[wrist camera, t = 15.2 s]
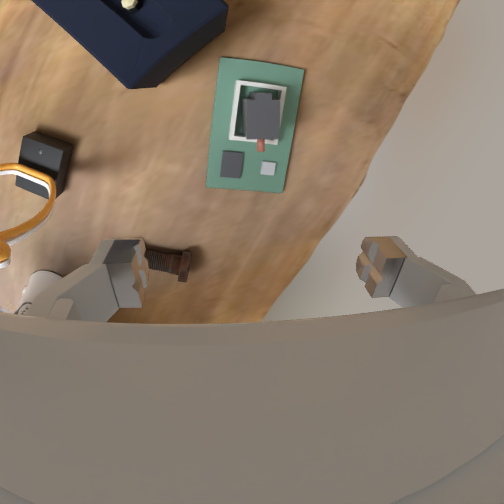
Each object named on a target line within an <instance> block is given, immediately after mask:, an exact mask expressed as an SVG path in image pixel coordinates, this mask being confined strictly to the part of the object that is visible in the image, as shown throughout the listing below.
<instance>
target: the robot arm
mask: <svg viewBox="0 0 504 504" xmlns="http://www.w3.org/2000/svg"><path fill="white" fill-rule="evenodd" d="M361 248H362V250H363V252H362V253H361V254H360V255H359V256H358V259H357V262H356V271H357V274H358V276H359V278H360V279H361V280H362V281H364V282H365V283H366V284H365V288H366V289H367V291H368V292H369V294H370V296H371V297H372V298H376V297H390V298H391V299H392V300H393V301H395V302H396V303H397V304H398V305H400V306H401V307H402V308H399V309H392V310H384V311H377V312H369V313H361V314H353V315H343V316H333V317H324V318H312V319H299V320H286V321H270V322H249V323H220V324H141V323H113V322H107V321H108V320H109V319H110V318H111V317H112V316H113V315H114V314H115V313H116V312H117V310H118V309H119V308H142V305H143V301H144V297H145V292H144V288H145V287H146V286H147V285H148V280H149V266H148V260H147V259H146V258H145V257H144V253H145V250H146V248H145V243H144V240H143V239H116V238H114V239H103V240H102V241H101V243H100V244H99V246H98V248H97V249H96V251H95V253H94V255H93V256H92V258H91V260H90V262H89V264H84V265H82V266H81V267H79V268H78V269H76V270H74V271H73V272H71V273H70V274H68V275H67V276H65V277H63V278H62V277H61V276H59V275H57V274H55V273H52V272H49V271H37V272H35V273H33V274H32V275H31V277H30V279H29V282H28V285H27V286H26V287H25V288H24V290H23V292H22V293H23V296H22V298H21V301H20V303H19V305H18V307H17V310H16V312H15V313H14V314H10V313H3V312H0V504H504V289H500V290H496V291H492V292H487V293H483V294H478V295H477V294H476V293H475V292H474V291H473V290H472V289H471V288H470V286H469V285H468V284H467V283H466V282H465V281H464V280H462V279H461V278H459V277H457V276H455V275H453V274H451V273H449V272H448V271H446V270H444V269H442V268H440V267H438V266H436V265H435V264H433V263H431V262H429V261H427V260H425V259H423V258H421V257H417V256H416V255H415V254H414V252H413V251H412V250H411V249H410V248H408V246H407V245H406V244H405V243H404V242H403V241H402V240H401V239H400V238H399V237H397V236H392V237H391V236H389V237H365V238H364V240H363V241H362V245H361Z"/></svg>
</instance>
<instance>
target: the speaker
mask: <svg viewBox="0 0 504 504" xmlns="http://www.w3.org/2000/svg"><path fill="white" fill-rule="evenodd" d="M32 1H33V2H34V3H35V4H36V5H37V6H38V7H40V8H41V9H42V10H43V11H44V12H45V13H46V14H48V15H49V16H50V17H51V18H52V19H53V20H54V21H55V22H57V23H58V24H59V25H60V26H61V27H62V28H63V29H64V30H65V31H67V32H68V33H69V34H70V35H71V36H72V37H73V38H74V39H75V40H76V41H78V42H79V43H80V44H81V45H82V46H83V47H84V48H85V49H86V50H87V51H88V52H89V53H91V54H92V55H93V56H94V57H95V58H96V59H97V60H98V61H99V62H100V63H101V64H102V65H103V66H104V67H105V68H106V69H108V70H109V71H110V72H111V73H112V74H113V75H114V76H115V77H116V78H117V79H118V80H119V81H120V82H121V83H122V84H123V85H124V86H125V87H126V88H127V89H138V88H153V87H157V86H158V85H159V84H160V83H161V82H162V81H164V80H165V79H166V78H167V77H168V76H169V75H170V74H171V73H172V72H174V71H175V70H176V69H177V68H178V67H179V66H180V65H182V64H183V63H184V62H185V61H186V60H188V59H189V58H190V57H191V56H192V55H194V54H195V53H196V52H197V51H199V50H200V49H201V48H203V47H204V46H205V45H206V44H208V43H209V42H210V41H212V40H213V39H214V38H216V37H217V36H219V35H220V34H221V33H223V32H224V30H225V25H226V19H227V13H228V4H226V3H225V2H224V1H223V0H32Z"/></svg>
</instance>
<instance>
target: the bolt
mask: <svg viewBox="0 0 504 504" xmlns="http://www.w3.org/2000/svg"><path fill="white" fill-rule="evenodd" d="M191 254H192V253H191V252H187V251H183V254H182V256H180V255H175V254H173V255H172V254H171V255H170V254H169V255H168V254H167V255H166V253H165V254H164V253H161V252H160V253H159V252H157V251H156V252H155V251H154V252H153V251H150V250H145V253H144V257H145V258H146V259H147V260H148V266H149V268H150V269H151V268H152V269H154V270H159V271H160V270H161V271H162V270H163V272H164V271H165V272H168V273H170V274H175V275H179V276H178V281H180V282H186V281H187V277H188V272H189V266H190V261H191Z"/></svg>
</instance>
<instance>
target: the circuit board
mask: <svg viewBox="0 0 504 504" xmlns="http://www.w3.org/2000/svg"><path fill="white" fill-rule="evenodd" d="M303 75H304V70H303V69H298V68H293V67H288V66H283V65H277V64H271V63H265V62H258V61H250V60H242V59H233V58H222V57H220V62H219V69H218V76H217V84H216V92H215V100H214V108H213V117H212V126H211V136H210V146H209V157H208V168H207V180H206V187H207V188H223V189H237V190H250V191H262V192H273V193H282V192H283V186H284V181H285V176H286V171H287V165H288V160H289V154H290V149H291V143H292V138H293V132H294V127H295V121H296V115H297V110H298V104H299V98H300V92H301V86H302V80H303ZM249 92H264V93H271V94H272V98H274V99H278V100H280V138H279V139H265V151H264V152H258V151H257V139H248V140H247V139H246V137H245V135H244V134H243V132H242V98H249Z"/></svg>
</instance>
